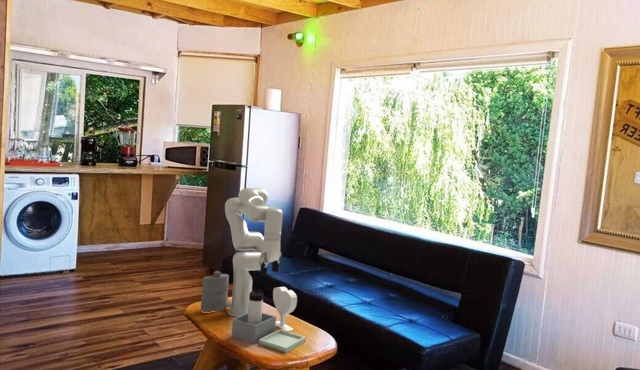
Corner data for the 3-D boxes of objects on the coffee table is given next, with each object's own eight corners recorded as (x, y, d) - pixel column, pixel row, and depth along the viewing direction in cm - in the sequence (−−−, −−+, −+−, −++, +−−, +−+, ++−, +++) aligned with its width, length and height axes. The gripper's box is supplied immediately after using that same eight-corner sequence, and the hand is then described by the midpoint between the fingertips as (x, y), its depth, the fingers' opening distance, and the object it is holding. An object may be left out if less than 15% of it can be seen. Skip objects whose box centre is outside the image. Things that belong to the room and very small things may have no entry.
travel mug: (262, 334, 229) (266, 291, 227) (256, 338, 223) (259, 294, 221) (250, 331, 231) (253, 288, 229) (243, 336, 225) (247, 292, 223)
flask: (205, 314, 247) (208, 275, 246) (198, 311, 251) (201, 272, 250) (229, 309, 259) (232, 271, 257) (222, 306, 263) (225, 268, 261)
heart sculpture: (295, 330, 237) (299, 293, 236) (287, 332, 234) (290, 294, 233) (278, 319, 249) (280, 284, 248) (269, 321, 246) (272, 285, 245)
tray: (258, 344, 217) (259, 339, 217) (279, 333, 231) (279, 329, 231) (286, 353, 210) (286, 348, 210) (305, 341, 224) (305, 336, 224)
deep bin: (231, 336, 223) (232, 319, 222) (252, 327, 236) (253, 310, 236) (254, 343, 217) (255, 325, 216) (274, 333, 231) (276, 316, 230)
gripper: (275, 232, 234) (272, 268, 235) (254, 237, 218) (251, 275, 219) (289, 235, 230) (286, 271, 232) (269, 240, 215) (265, 279, 216)
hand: (269, 273), depth 226 cm, fingers open, 9 cm apart
